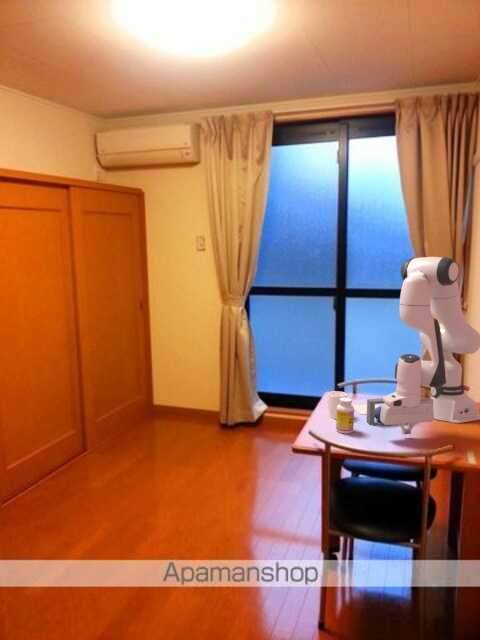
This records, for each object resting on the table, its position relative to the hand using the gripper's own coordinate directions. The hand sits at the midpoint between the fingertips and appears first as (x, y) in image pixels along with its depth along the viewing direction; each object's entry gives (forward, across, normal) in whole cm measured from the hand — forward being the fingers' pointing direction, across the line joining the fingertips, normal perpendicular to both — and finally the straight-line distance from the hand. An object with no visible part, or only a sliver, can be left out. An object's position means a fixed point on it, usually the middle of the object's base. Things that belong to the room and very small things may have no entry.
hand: (406, 433), depth 185 cm
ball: (-1, +1, -19) cm, 19 cm away
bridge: (+2, 0, -17) cm, 17 cm away
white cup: (+2, +17, -27) cm, 32 cm away
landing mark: (+2, 0, -33) cm, 33 cm away
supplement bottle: (+2, +20, -11) cm, 23 cm away
